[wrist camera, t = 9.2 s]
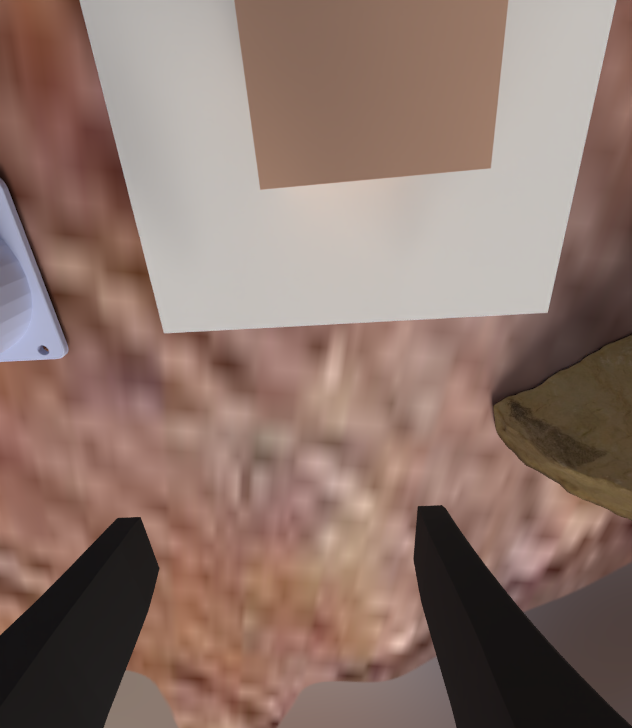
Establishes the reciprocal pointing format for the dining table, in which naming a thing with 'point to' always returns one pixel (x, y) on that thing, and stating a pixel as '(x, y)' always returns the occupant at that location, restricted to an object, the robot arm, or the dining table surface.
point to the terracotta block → (370, 87)
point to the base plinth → (344, 199)
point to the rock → (579, 427)
